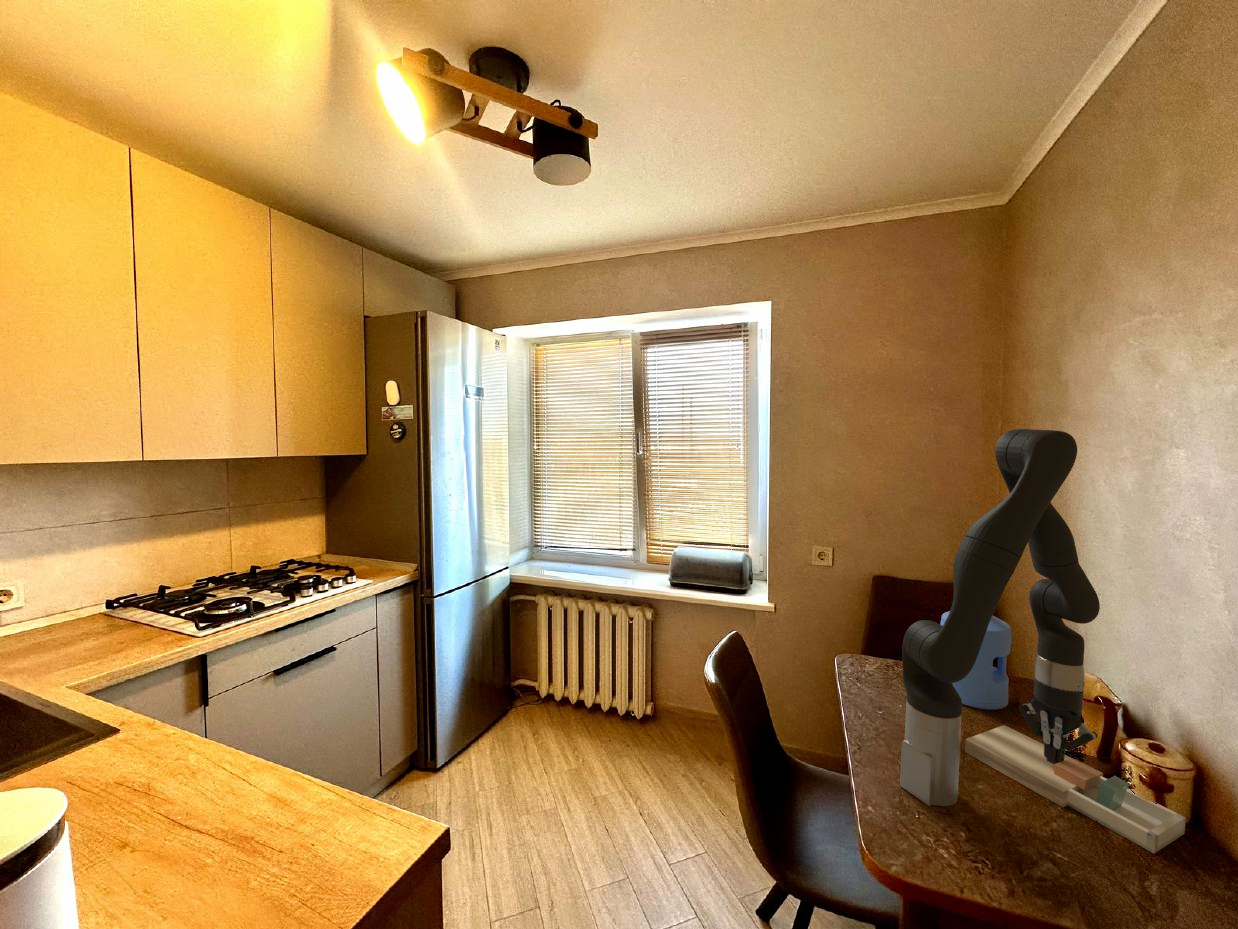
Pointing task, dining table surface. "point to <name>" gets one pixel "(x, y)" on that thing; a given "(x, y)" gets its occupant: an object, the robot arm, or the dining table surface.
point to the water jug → (987, 669)
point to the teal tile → (1112, 793)
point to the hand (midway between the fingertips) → (1053, 762)
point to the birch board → (1022, 762)
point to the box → (1132, 818)
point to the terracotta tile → (1077, 774)
